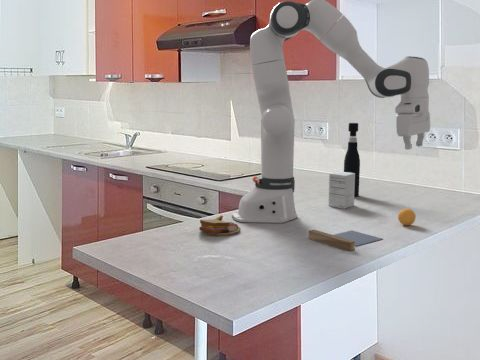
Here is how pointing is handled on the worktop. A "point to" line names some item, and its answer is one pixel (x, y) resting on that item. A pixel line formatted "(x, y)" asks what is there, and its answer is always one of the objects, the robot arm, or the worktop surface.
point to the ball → (406, 217)
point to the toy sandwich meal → (218, 227)
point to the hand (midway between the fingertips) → (413, 147)
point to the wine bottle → (353, 157)
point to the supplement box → (341, 189)
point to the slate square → (358, 237)
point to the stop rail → (332, 240)
